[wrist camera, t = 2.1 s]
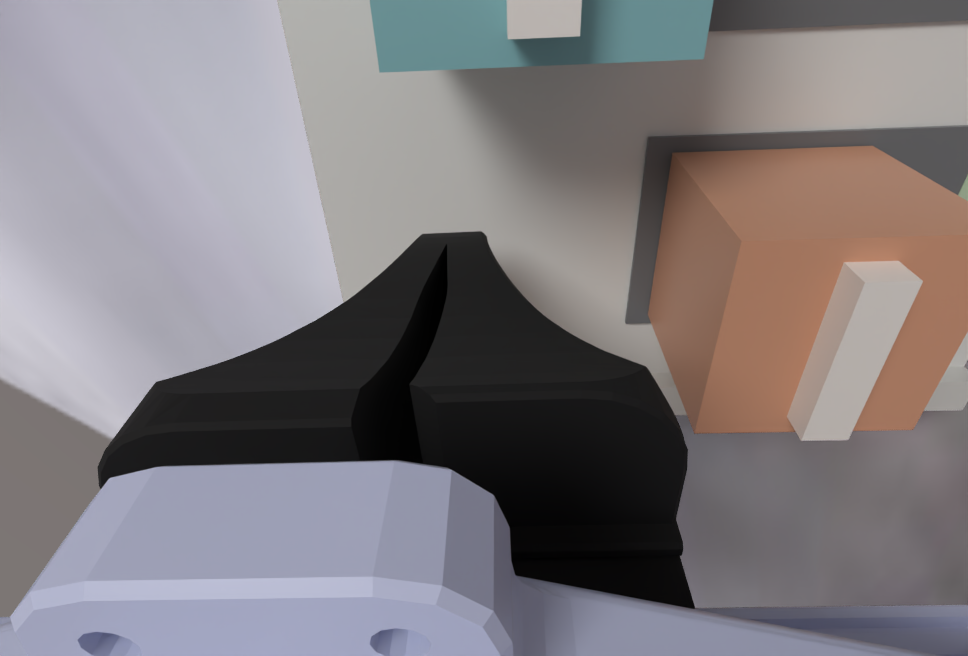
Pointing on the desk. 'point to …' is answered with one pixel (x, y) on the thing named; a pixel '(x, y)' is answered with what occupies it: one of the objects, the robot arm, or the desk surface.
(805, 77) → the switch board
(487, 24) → the teal handled block
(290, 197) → the desk surface
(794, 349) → the orange block with handle
